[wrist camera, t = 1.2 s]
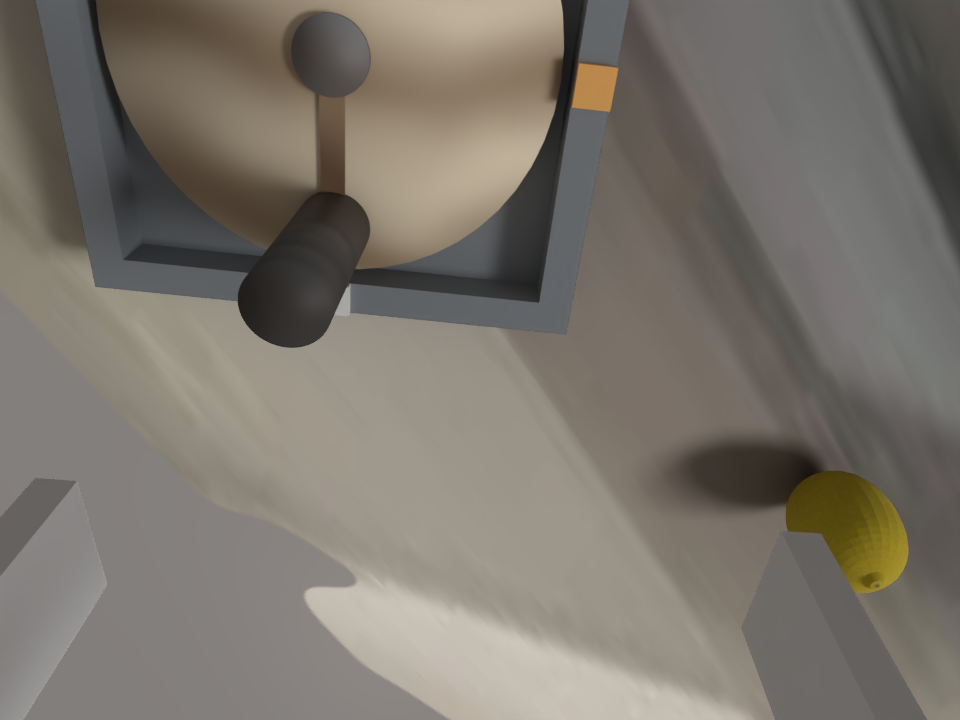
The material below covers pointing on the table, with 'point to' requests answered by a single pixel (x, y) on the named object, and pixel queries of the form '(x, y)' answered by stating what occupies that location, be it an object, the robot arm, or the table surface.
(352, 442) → the table surface
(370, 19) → the dial
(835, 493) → the lemon
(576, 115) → the dial frame
